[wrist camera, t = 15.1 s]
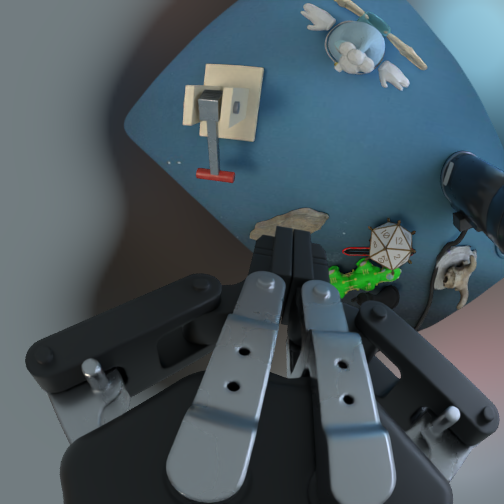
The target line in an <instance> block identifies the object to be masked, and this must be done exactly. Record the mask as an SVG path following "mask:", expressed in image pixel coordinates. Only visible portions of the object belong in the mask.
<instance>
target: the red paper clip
mask: <svg viewBox="0 0 504 504" xmlns="http://www.w3.org/2000/svg"><path fill="white" fill-rule="evenodd" d="M412 250H413V249H412ZM342 251H370V248H357V247H349V248H346V249H344V250H342ZM343 253H344V254H346V255H360V256H369V252H343ZM415 253H416V252H415ZM413 254H414V253H412V252H411V255H410V256H412V255H413Z"/></svg>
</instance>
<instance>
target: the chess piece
mask: <svg viewBox="0 0 504 504" xmlns="http://www.w3.org/2000/svg"><path fill="white" fill-rule="evenodd" d="M399 298H400V297H399V292H398V290H397V288H396V287H395V286H392V285H390V286H387V287H386V288H384V289H383V290H382V291H381V292H380V293H379V294H377V295H373V294H371V293H369V292H367V293H366V294H365V293H360V294H359V295H358V296H357V297H356V298H354V299H352V300H351V302H355V301H357V303H358V304H359V305H360V306H361V305H362V303H364V302H366V301H378V302H381V303H383V304H385V305H387V306H388V307H389V308H390V309H393V308H395V307H396V306H397V305H398V303H399Z"/></svg>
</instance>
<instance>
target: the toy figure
mask: <svg viewBox="0 0 504 504" xmlns="http://www.w3.org/2000/svg"><path fill="white" fill-rule="evenodd" d="M334 1H336V2H337V3H338V5H340V6H341V7H345V8H347V9H348V10H350V11H352V12H353V13H355V14H357V15H358V16H360V17H359V19H358V20H357V21H345V22H342V23H340V24H338V25H340V26H338V25H336V26H335V27H337V26H338V27H337V28H336V29H335V30H334V31H333V32H332V33H331V35H330V37H329V40H328V48H329V51H330V53H331V54H332V56H333V57H334V58H335V59H336V60H337V61H338V62H339V63H338V62H335V61H334V60H333V59H332V57H331V56H330V55H329V53H328V51H327V48H326V41H327V37H328V36H329V34H330V32H331V31H332V30H333V29H334V28H335V27H334V28H333V29H332V30H331V31H330V32H329V33H328V35H327V36H326V39H325V50H326V52H327V54H328V56H329V57H330V58H331V59H332V60H333V61H334V62H335V64H334V65H335V67H334V68H335V69H336V70H337V71H339V72H341V70H344V71H345V72H347V73H349V74H359V75H361V74H366V73H370V72H371V71H372V70H374V69H375V68H376V67H377V66H378V65H379V64H380V63H381V61H382V59H383V56H384V51H385V42H384V37H387V38H388V39H389V40H390V42H391V43H392V44H393V45H394V46H395V47H396V48H397V49H398V50H399V52H400V54H401V55H403V56H404V57H406V58H407V59H408V60H410V61H411V62H412V63H413V64H414V65H415V66H416V67H418V68H419V69H421V70H426V69H427V66H426V64H425V63H424V62H423V61H422V59H421V58H420V57H419V56H418V55H417V54H416V53H415V52H414V50H413V49H412V48H411V47H409V46H407V45H406V44H404V43H403V42H402V41H401V40H399V39H398V38H397V37H395V36H394V35H393V34H391V33H390V32H391V29H390V27H389V26H388V25H387V24H386V23H385V22H384V21H383V20H382V19H380V18H379V17H378V16H376V15H375V14H373V13H371V12H364V11H363V10H362V9H361V8H360V7H358V6H357V5H356V4H355V3H353V2H352V1H351V0H334ZM303 7H304V10H305V11H306V12H305V11H301V14H302V15H303V16H305V17H306V18H307V19H309V20H310V21H311V22H312V23H313V24H314V25H313V26H312V25H308V26H307V28H308V29H309V30H314V31H322V30H327V31H328V30H329V29H330V28H331V27H332V26H333V25H334V24H335V22H336V19H334V18H333V17H332V16H331V15H330V14H329V13H328V12H326V11H324V10H323V9H320V8H318V7H316V6H314V5H312V4H310V3H307V4H305V5H304V6H303ZM307 12H308V13H307ZM374 66H375V67H374ZM378 71H379V78H380V82H381V85H382V86H383V87H384V88H387V84H386V81H388V82H390V83H391V84H392V85H394V86H395V87H396V88H397V89H399V90H401V91H402V90H403V88H402V87H401V86H403V87H408V86H409V80H408V79H407V78H406V77H405V76H404V74H403V73H402V72H401V71H400V70H399V69H398V68H397V67H396V66H395V65H394V64H392V63H390V62H389V61H385V62H383V63H382V64H381V65H380V66H379V68H378ZM358 72H364V73H358Z"/></svg>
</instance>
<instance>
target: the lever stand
mask: <svg viewBox="0 0 504 504" xmlns="http://www.w3.org/2000/svg"><path fill="white" fill-rule="evenodd" d="M263 73H264V68H260V67H251V66H239V65H224V64H206V70H205V79H204V85H186V89H185V100H184V103H183V108H184V115H183V125H194V124H196V123H199V122H200V136H207V122H206V121H201V120H199V108H198V98H199V97H200V95H201V94H202V93H203V91H204V90H221V91H223V97H222V106H221V116H220V120H219V122H218V132H219V138H227V139H236V140H244V141H251V142H254V140H255V134H256V126H257V118H258V110H259V103H260V95H261V88H262V80H263Z"/></svg>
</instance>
